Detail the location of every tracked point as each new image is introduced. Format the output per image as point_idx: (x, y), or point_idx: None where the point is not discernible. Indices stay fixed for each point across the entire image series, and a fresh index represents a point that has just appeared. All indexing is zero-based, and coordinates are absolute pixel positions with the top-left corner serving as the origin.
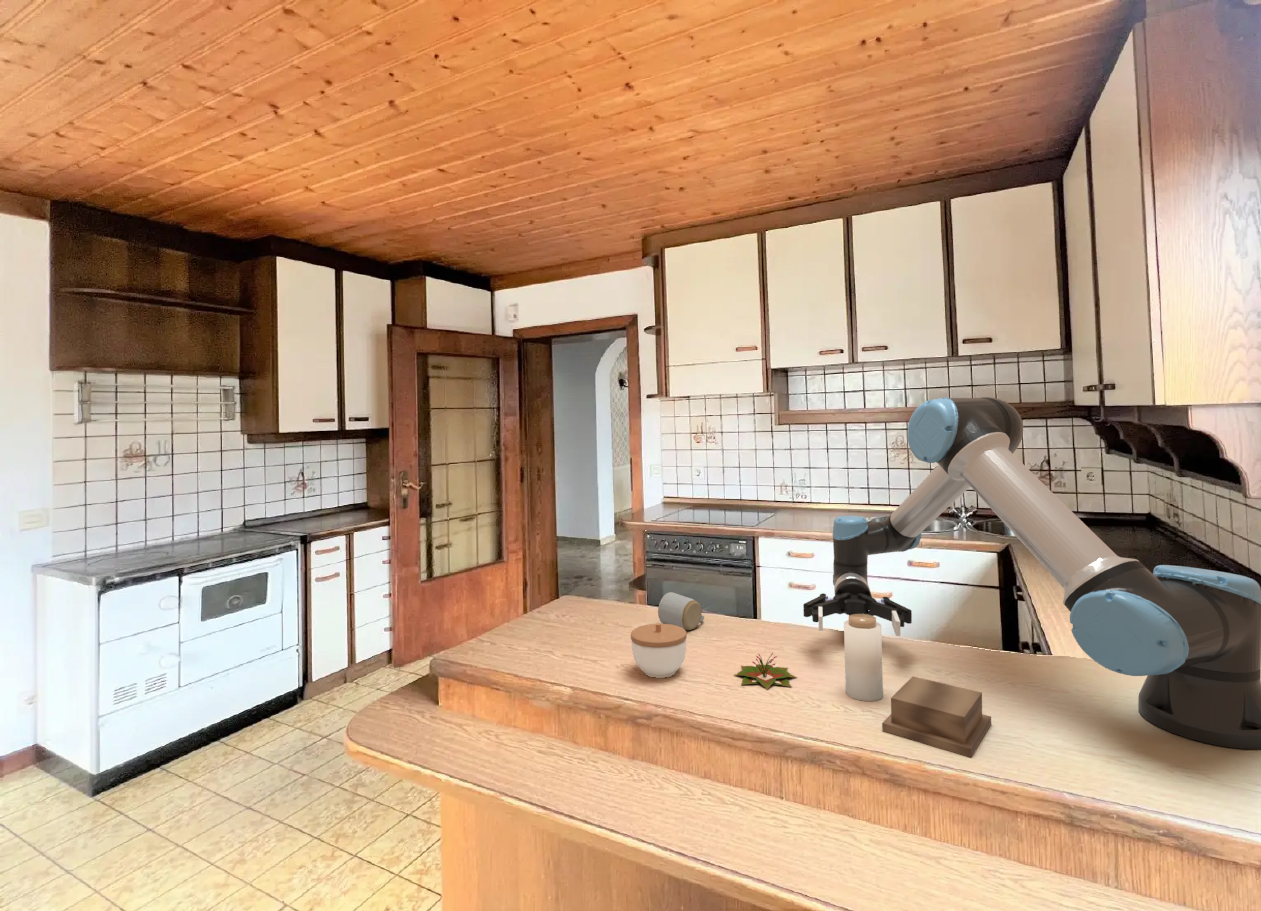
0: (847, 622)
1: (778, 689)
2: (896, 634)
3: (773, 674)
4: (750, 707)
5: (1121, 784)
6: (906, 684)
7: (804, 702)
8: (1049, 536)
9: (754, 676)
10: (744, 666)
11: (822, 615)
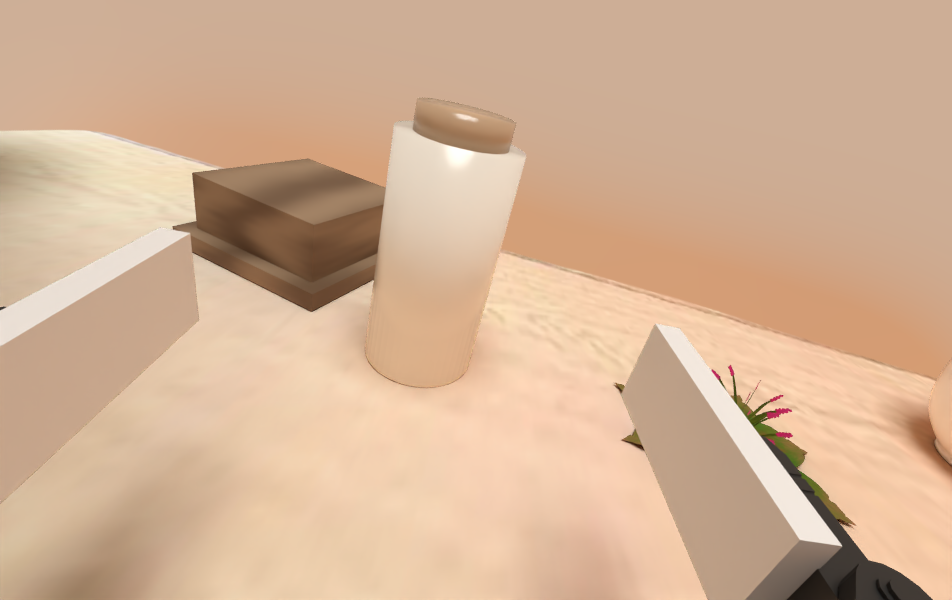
0: (513, 155)
1: None
2: (195, 311)
3: None
4: None
5: (134, 164)
6: (353, 210)
7: (563, 330)
8: None
9: None
10: (836, 517)
11: (665, 339)
